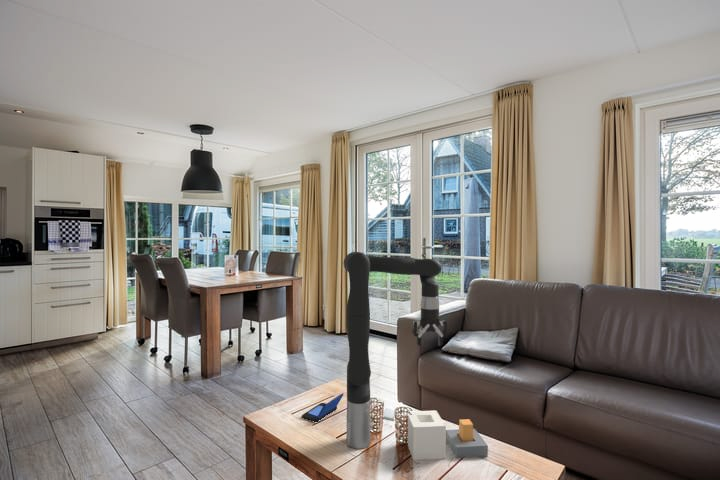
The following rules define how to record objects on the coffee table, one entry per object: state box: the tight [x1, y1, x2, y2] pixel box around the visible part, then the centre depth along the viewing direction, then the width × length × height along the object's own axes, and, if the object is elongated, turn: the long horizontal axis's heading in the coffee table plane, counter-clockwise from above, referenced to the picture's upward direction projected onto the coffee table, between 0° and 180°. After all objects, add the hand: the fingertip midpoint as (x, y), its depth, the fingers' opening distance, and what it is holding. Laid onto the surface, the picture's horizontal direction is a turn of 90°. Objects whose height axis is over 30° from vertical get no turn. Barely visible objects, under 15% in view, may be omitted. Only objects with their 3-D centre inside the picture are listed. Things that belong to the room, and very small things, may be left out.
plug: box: [458, 418, 474, 442], centre depth 140 cm, size 4×4×9 cm
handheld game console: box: [301, 392, 344, 423], centre depth 166 cm, size 16×13×9 cm
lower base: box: [446, 428, 489, 459], centre depth 140 cm, size 12×12×4 cm
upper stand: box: [406, 409, 447, 461], centre depth 139 cm, size 12×12×12 cm
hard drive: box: [383, 407, 395, 422], centre depth 167 cm, size 2×8×12 cm
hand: (429, 345), depth 151 cm, fingers open, 8 cm apart
